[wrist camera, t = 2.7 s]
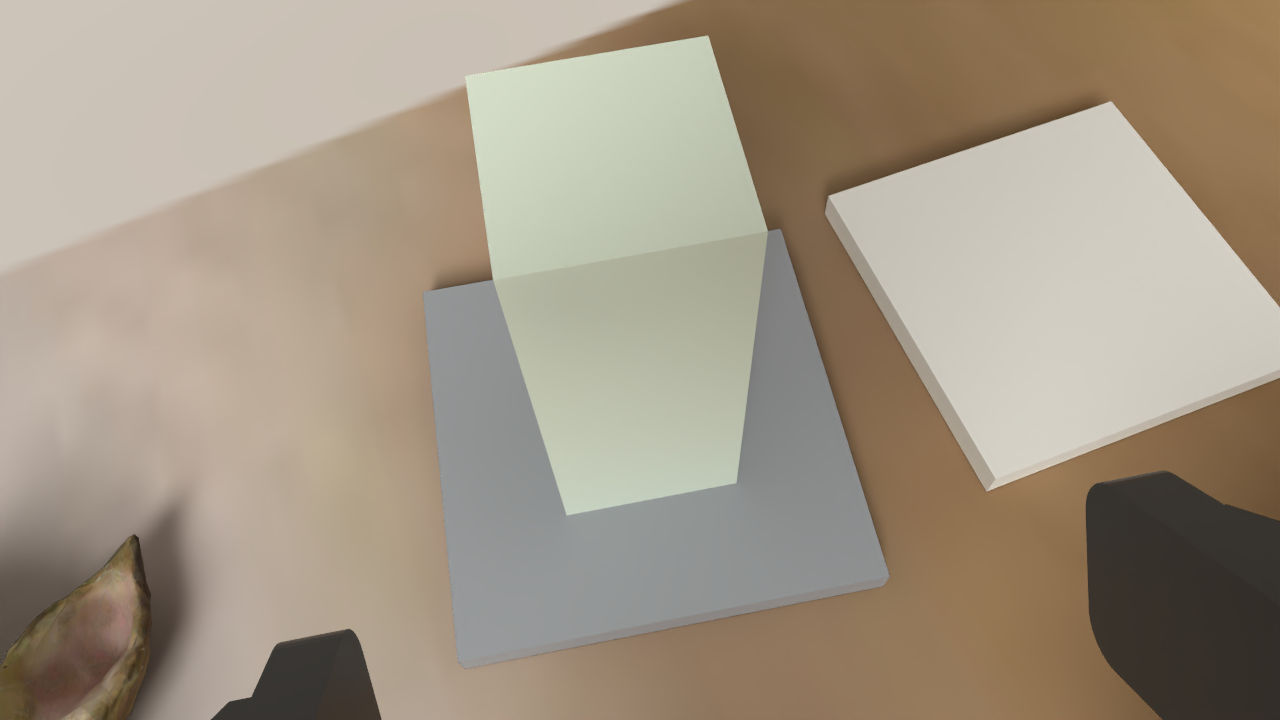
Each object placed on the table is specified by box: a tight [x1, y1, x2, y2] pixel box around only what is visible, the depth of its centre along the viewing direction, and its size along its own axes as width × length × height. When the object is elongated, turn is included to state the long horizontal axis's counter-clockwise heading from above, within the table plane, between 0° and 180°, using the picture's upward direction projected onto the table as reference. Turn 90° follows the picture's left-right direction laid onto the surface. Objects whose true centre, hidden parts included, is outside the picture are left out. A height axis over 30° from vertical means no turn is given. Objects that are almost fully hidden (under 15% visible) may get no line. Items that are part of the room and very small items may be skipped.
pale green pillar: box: [465, 36, 768, 515], centre depth 24 cm, size 5×5×12 cm
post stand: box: [423, 229, 890, 669], centre depth 28 cm, size 12×12×6 cm
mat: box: [825, 101, 1280, 491], centre depth 32 cm, size 11×11×1 cm
